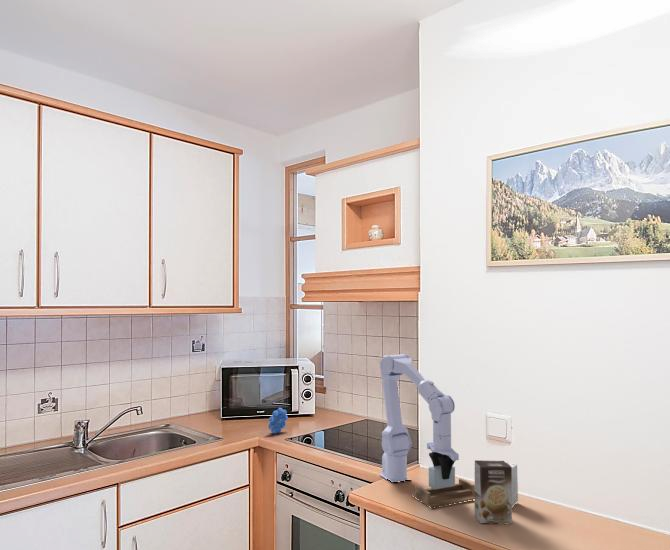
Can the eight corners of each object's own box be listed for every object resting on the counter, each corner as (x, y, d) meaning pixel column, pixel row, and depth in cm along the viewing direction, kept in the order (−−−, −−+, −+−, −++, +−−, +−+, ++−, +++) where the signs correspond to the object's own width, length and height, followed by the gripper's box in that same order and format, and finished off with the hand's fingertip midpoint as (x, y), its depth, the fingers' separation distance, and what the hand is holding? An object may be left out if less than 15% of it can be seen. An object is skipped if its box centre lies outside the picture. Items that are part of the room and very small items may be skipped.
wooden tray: (412, 496, 166) (412, 483, 166) (457, 488, 173) (457, 476, 173) (431, 509, 155) (431, 495, 156) (478, 500, 163) (478, 487, 163)
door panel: (428, 486, 164) (428, 465, 164) (449, 482, 167) (449, 462, 167) (434, 489, 161) (434, 468, 161) (455, 485, 164) (454, 465, 164)
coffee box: (480, 524, 145) (480, 467, 146) (474, 515, 151) (473, 460, 152) (512, 524, 145) (512, 466, 146) (504, 515, 151) (503, 459, 152)
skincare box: (505, 500, 163) (504, 461, 164) (518, 503, 160) (517, 464, 161) (497, 505, 158) (497, 466, 159) (511, 509, 155) (510, 469, 156)
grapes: (281, 429, 253) (281, 405, 254) (290, 432, 248) (290, 407, 249) (262, 433, 245) (263, 408, 245) (271, 436, 240) (272, 410, 241)
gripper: (419, 430, 170) (419, 471, 169) (445, 441, 157) (445, 486, 156) (436, 428, 173) (437, 469, 172) (463, 438, 159) (464, 483, 159)
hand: (442, 477), depth 164 cm, fingers closed on door panel, 3 cm apart
